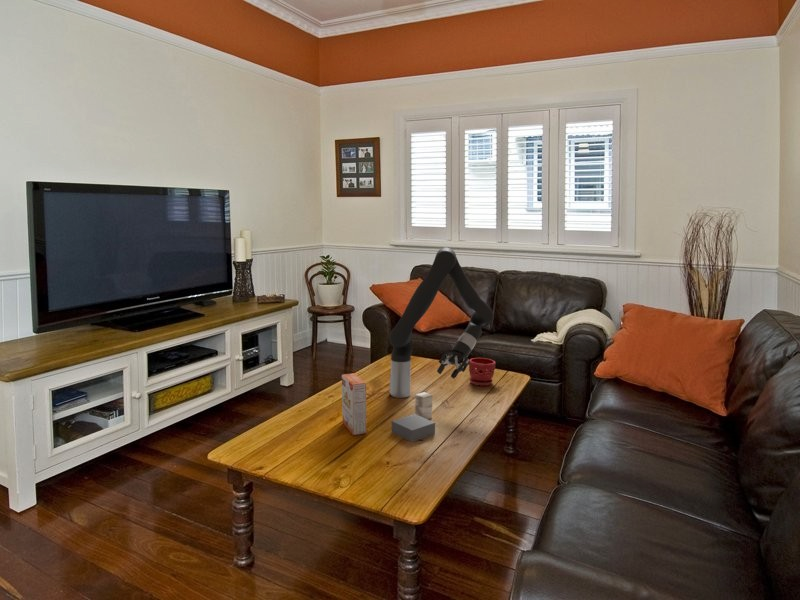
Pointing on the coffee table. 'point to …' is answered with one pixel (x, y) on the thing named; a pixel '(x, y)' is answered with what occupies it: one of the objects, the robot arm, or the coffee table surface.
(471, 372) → the plant pot
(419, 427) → the flat gray square
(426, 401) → the taupe block
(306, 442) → the coffee table surface
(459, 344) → the robot arm
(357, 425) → the cracker box
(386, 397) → the coffee table surface
